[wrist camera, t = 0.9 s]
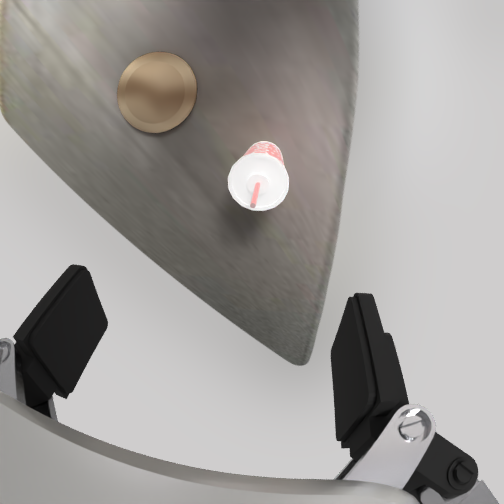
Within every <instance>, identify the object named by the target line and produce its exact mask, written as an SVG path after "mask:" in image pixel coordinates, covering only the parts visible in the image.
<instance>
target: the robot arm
mask: <svg viewBox="0 0 504 504" xmlns="http://www.w3.org/2000/svg"><path fill="white" fill-rule="evenodd" d="M107 326H108V321H107V318H106V315H105V313H104V310H103V308H102V305H101V302H100V300H99V297H98V294H97V292H96V289H95V286H94V283H93V280H92V277H91V275H90V272H89V271H88V270H87V268H86V267H85V266H80V265H70V266H69V267H68V269H67V270H66V271H65V272H64V273H63V274H62V275H61V276H60V278H59V279H58V280H57V281H56V282H55V283H54V285H53V286H52V287H51V288H50V289H49V291H48V292H47V293H46V294H45V295H44V297H43V298H42V299H41V300H40V302H39V303H38V304H37V305H36V307H35V308H34V309H33V310H32V312H31V313H30V315H29V316H28V317H27V318H26V320H25V321H24V322H23V324H22V325H21V326H20V328H19V329H18V330H17V332H16V333H15V335H14V336H13V337H14V339H15V340H16V344H15V345H14V343H13V342H12V340H10V339H7V338H3V339H0V504H499V503H498V501H497V500H496V498H495V497H494V496H493V494H492V493H491V491H490V490H489V489H488V487H487V486H486V484H485V483H484V482H483V481H482V480H481V481H478V479H477V477H478V467H477V464H476V462H475V460H474V459H473V458H472V457H471V456H469V455H468V454H466V453H465V452H463V451H462V450H461V449H459V448H458V447H456V446H454V445H453V444H452V443H450V442H449V441H447V440H446V439H445V438H443V437H442V436H440V435H439V434H437V433H436V432H435V431H436V423H435V420H434V417H433V415H432V414H431V412H430V411H429V410H427V409H426V408H425V407H423V406H421V405H418V404H409V401H408V397H407V392H406V388H405V384H404V379H403V375H402V372H401V367H400V364H399V360H398V356H397V352H396V349H395V346H394V342H393V339H392V336H391V335H390V333H384V331H383V327H382V324H381V320H380V317H379V313H378V310H377V306H376V303H375V300H374V297H373V295H372V294H367V293H355V294H354V296H353V297H349V298H348V301H347V304H346V307H345V310H344V313H343V316H342V320H341V323H340V326H339V329H338V332H337V335H336V338H335V341H334V343H333V346H332V349H331V366H332V378H333V390H334V407H335V426H336V439H337V441H341V448H350V457H352V459H351V460H350V461H349V463H348V464H347V465H346V466H345V467H344V468H343V470H342V471H341V472H340V473H339V474H338V475H337V476H336V477H335V478H334V480H321V479H320V480H319V479H286V478H269V477H258V476H247V475H239V474H231V473H224V472H217V471H211V470H205V469H200V468H195V467H189V466H185V465H180V464H176V463H172V462H168V461H164V460H160V459H156V458H153V457H149V456H146V455H142V454H139V453H136V452H132V451H129V450H126V449H123V448H120V447H117V446H115V445H112V444H109V443H106V442H103V441H101V440H98V439H96V438H93V437H91V436H88V435H86V434H84V433H81V432H79V431H76V430H74V429H72V428H70V427H68V426H65V425H63V424H61V423H59V422H58V420H57V416H56V411H55V407H54V402H53V397H52V395H53V393H54V392H55V393H56V395H58V396H61V397H63V398H65V399H67V397H68V395H69V393H72V392H73V390H74V388H75V386H76V384H77V382H78V380H79V378H80V376H81V375H82V373H83V371H84V369H85V367H86V365H87V363H88V361H89V359H90V358H91V356H92V354H93V352H94V350H95V349H96V347H97V345H98V343H99V341H100V340H101V338H102V336H103V334H104V332H105V331H106V329H107Z"/></svg>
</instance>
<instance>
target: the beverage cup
mask: <svg viewBox="0 0 504 504" xmlns="http://www.w3.org/2000/svg"><path fill="white" fill-rule="evenodd" d="M228 189H229V191H230V193H231V195H232V197H233V199H234V200H236V201H237V202H238V203H239V204H240V205H241V206H243V207H245V208H248V209H250V210H254V211H265V210H268V209H271V208H275V207H276V206H277V205H278V204H280V203H281V202H282V201H283V200H284V198H285V196H286V194H287V192H288V189H289V176H288V174H287V171H286V169H285V166H284V162H283V157H282V154H281V151H280V149H279V148H278V147H277V146H276V145H275V144H273V143H271V142H268V141H260V142H257V143H255V144H253V145H252V146H251V147H250V148H249V149H248V150H247V152H246V153H245V154H244V156H243V157H241V158H240V159H239V160H238V161H237V162H236V163H235V164H234V165H233V166H232V168H231V171H230V173H229V176H228Z"/></svg>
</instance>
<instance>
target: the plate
mask: <svg viewBox="0 0 504 504" xmlns="http://www.w3.org/2000/svg"><path fill="white" fill-rule="evenodd" d="M196 97H197V82H196V78H195V75H194V73H193V71H192V69H191V67H190V66H189V65H188V64H187V63H186V62H185V61H184V60H183V59H182V58H180V57H178V56H176V55H174V54H171V53H166V52H152V53H148V54H145V55H142V56H140V57H139V58H137V59H136V60H134V61H133V62H132V63H131V64H130V65H129V66H128V67H127V68H126V69H125V71H124V72H123V74H122V76H121V78H120V81H119V84H118V90H117V99H118V105H119V108H120V111H121V113H122V115H123V116H124V118H125V119H126V120H127V121H128V122H129V123H130V124H131V125H132V126H133V127H135V128H137V129H139V130H141V131H144V132H149V133H159V132H164V131H167V130H170V129H172V128H174V127H175V126H177V125H179V124H180V123H181V122H183V121H184V120H185V119H186V118H187V116H188V115H189V114H190V112H191V111H192V109H193V106H194V104H195V101H196Z"/></svg>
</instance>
